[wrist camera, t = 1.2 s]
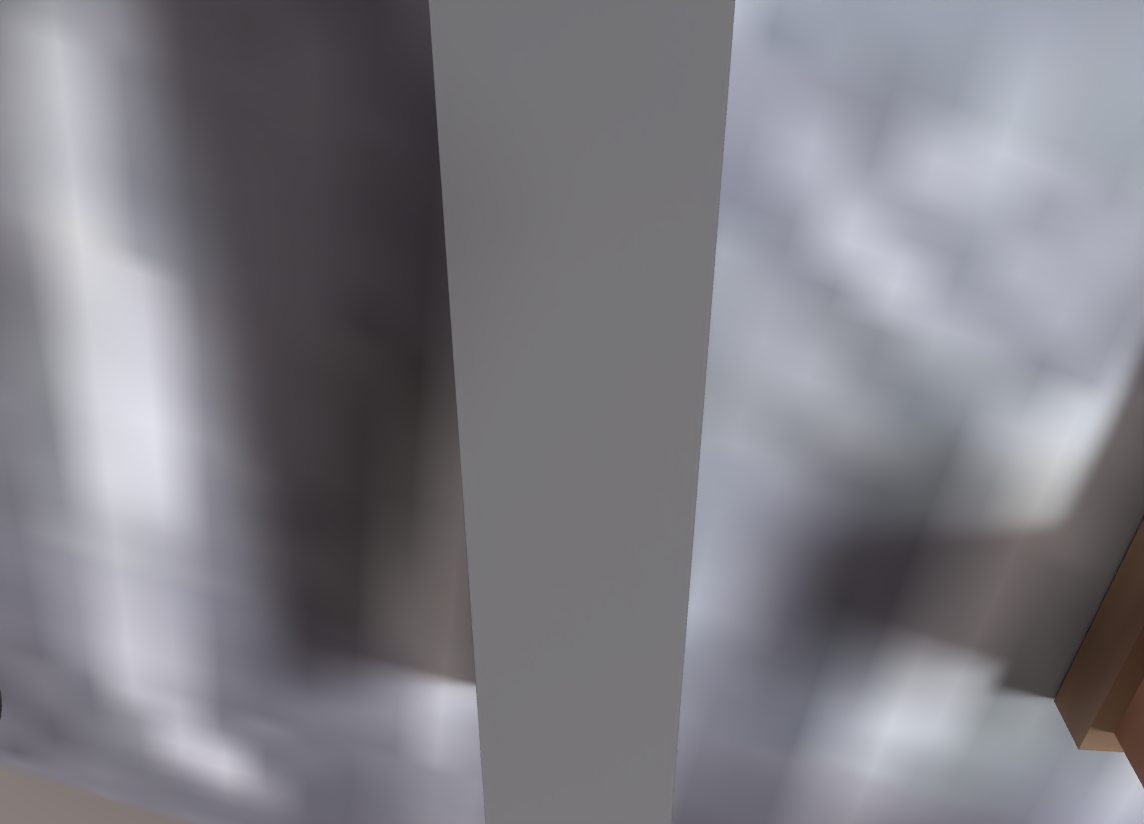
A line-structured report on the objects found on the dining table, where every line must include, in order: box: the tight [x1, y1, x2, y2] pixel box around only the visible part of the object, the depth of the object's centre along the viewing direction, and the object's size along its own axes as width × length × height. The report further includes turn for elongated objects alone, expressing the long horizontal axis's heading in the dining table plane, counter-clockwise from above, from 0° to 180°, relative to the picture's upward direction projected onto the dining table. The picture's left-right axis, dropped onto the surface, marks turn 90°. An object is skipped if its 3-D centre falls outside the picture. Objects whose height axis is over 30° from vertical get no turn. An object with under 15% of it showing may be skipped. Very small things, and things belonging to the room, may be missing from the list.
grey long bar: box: [429, 0, 735, 824], centre depth 14 cm, size 20×3×4 cm, turn 0°
